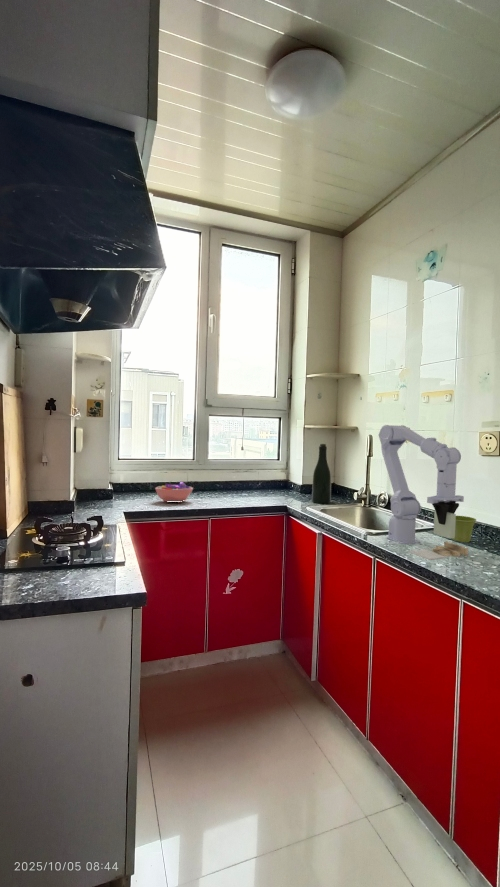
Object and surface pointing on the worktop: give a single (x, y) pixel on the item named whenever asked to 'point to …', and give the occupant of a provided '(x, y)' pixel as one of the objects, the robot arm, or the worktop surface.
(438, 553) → the offcut lower
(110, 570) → the worktop surface
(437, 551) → the offcut upper
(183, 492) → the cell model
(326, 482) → the beer bottle
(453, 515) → the block
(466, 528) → the plant pot
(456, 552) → the rack
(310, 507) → the worktop surface
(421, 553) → the mat
